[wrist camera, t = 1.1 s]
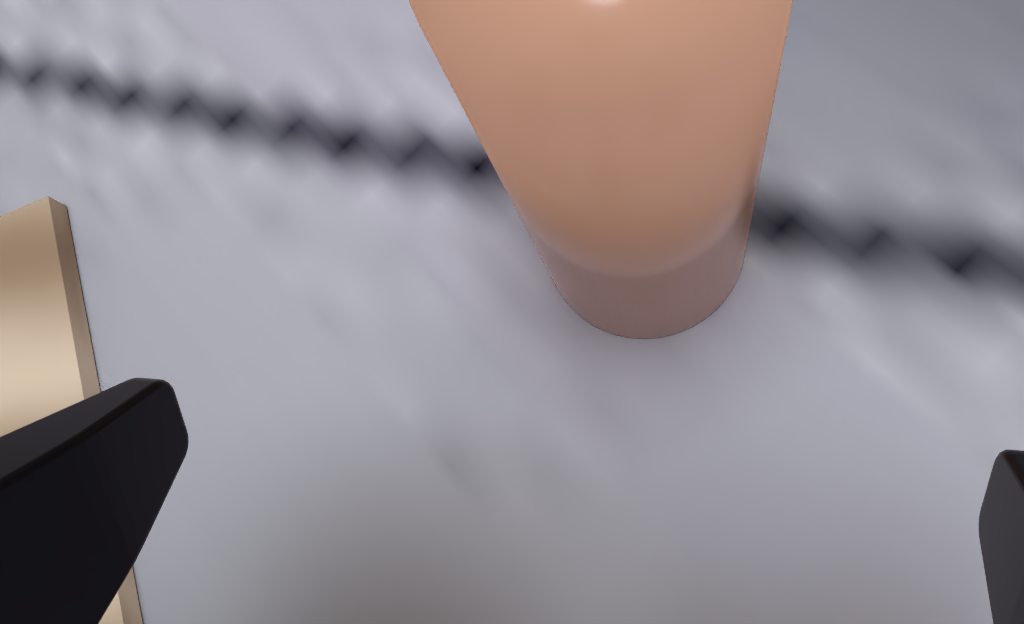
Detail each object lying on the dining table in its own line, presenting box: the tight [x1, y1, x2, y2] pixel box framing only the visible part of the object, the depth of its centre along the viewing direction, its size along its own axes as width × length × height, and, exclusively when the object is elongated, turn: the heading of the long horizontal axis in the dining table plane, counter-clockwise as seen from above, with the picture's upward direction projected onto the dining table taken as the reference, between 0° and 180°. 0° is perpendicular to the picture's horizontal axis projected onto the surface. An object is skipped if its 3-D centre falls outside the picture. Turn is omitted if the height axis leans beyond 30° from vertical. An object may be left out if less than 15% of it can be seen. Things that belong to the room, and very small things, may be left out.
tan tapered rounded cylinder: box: [409, 0, 793, 339], centre depth 17 cm, size 5×5×12 cm
